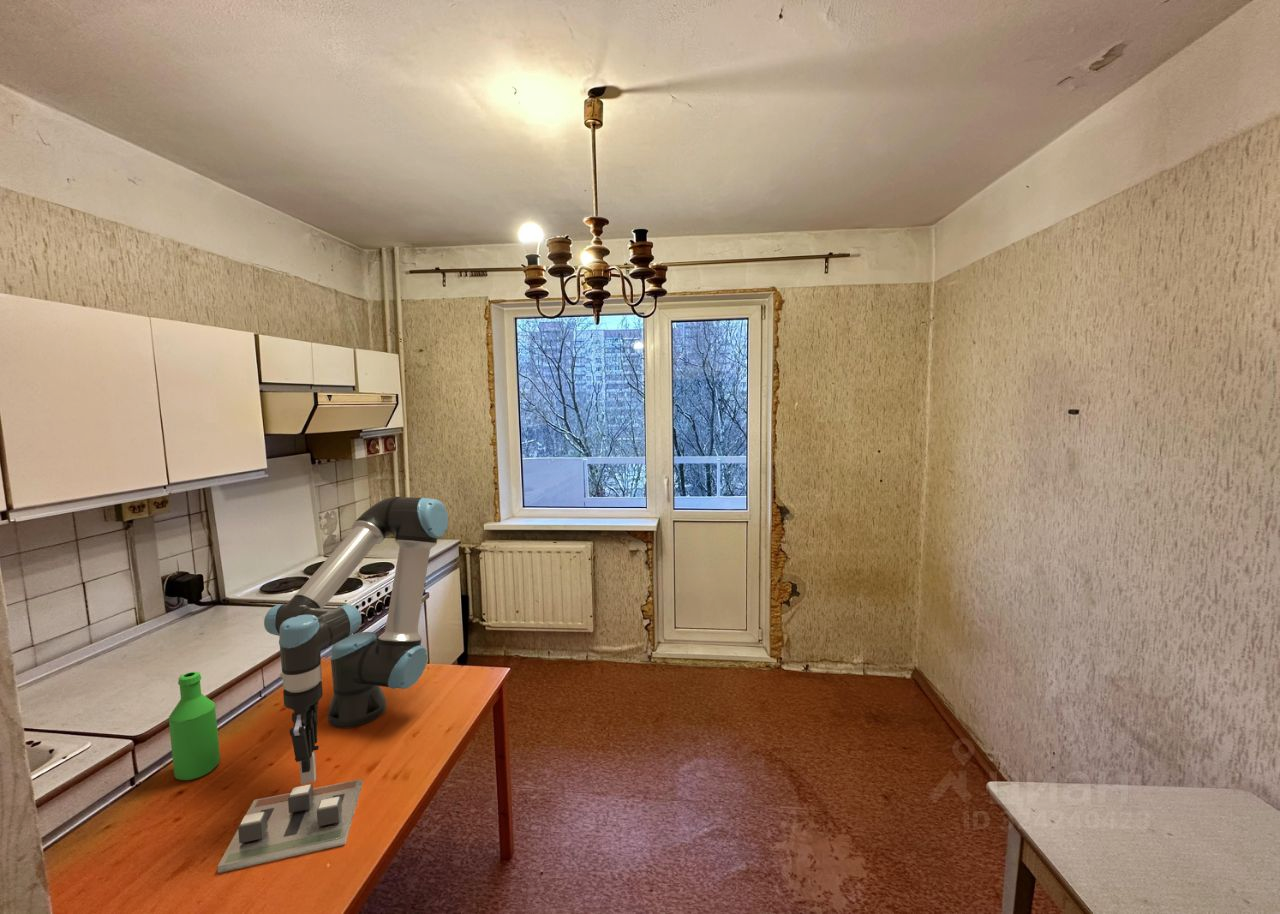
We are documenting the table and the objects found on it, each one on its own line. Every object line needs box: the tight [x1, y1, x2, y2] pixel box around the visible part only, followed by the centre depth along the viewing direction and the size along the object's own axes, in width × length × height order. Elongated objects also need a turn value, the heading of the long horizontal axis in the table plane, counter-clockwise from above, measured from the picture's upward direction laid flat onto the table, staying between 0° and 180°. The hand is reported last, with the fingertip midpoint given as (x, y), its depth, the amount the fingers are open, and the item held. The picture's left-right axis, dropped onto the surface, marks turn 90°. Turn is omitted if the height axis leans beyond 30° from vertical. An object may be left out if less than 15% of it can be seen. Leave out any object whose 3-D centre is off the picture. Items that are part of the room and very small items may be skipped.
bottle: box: [168, 671, 221, 781], centre depth 130 cm, size 9×9×25 cm
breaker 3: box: [317, 797, 342, 826], centre depth 113 cm, size 3×4×4 cm
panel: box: [217, 778, 363, 874], centre depth 114 cm, size 18×22×2 cm
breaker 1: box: [237, 812, 268, 843], centre depth 109 cm, size 3×4×4 cm
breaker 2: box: [288, 783, 314, 813], centre depth 117 cm, size 3×4×4 cm
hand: (308, 781), depth 122 cm, fingers closed
